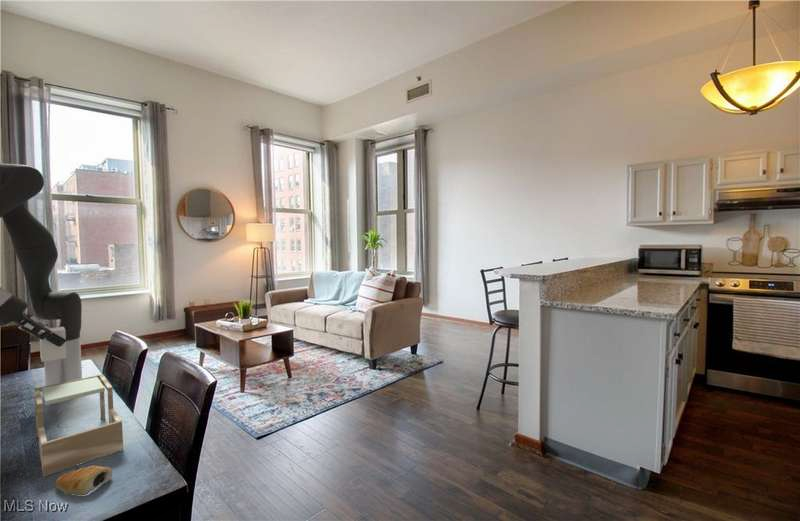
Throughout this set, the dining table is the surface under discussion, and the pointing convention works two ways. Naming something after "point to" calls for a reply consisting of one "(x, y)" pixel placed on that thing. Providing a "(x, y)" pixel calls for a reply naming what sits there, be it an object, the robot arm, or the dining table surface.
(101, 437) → the trapdoor frame
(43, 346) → the white rectangular block
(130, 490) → the dining table surface
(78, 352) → the robot arm
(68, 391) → the trapdoor
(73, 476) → the pastry
